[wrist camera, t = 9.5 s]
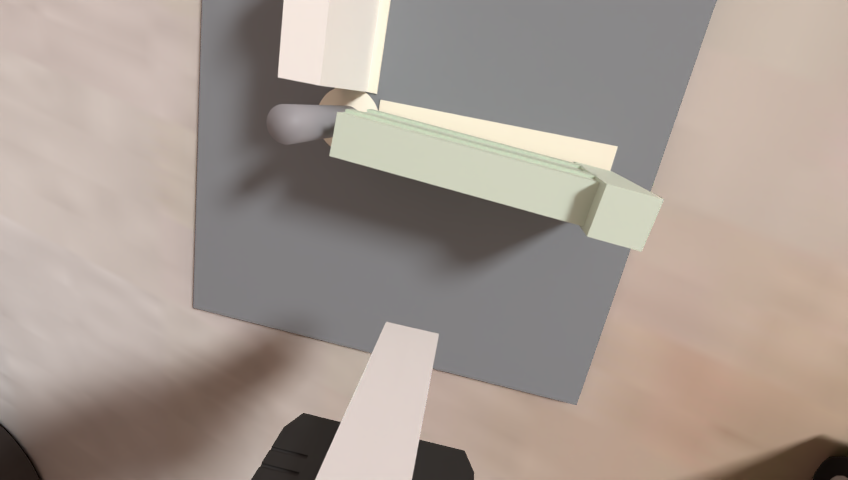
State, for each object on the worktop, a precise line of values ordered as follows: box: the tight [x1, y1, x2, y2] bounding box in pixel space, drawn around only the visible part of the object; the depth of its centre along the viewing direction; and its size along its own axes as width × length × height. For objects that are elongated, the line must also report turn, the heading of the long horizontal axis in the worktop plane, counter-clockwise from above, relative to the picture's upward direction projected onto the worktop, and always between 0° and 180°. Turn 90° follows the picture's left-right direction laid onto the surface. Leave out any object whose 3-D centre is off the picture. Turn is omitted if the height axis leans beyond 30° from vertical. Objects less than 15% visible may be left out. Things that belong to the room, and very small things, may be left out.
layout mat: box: [193, 0, 717, 405], centre depth 20 cm, size 20×20×1 cm
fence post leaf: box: [266, 0, 380, 145], centre depth 16 cm, size 2×8×7 cm, turn 169°
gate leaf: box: [329, 109, 664, 252], centre depth 16 cm, size 10×2×6 cm, turn 76°
